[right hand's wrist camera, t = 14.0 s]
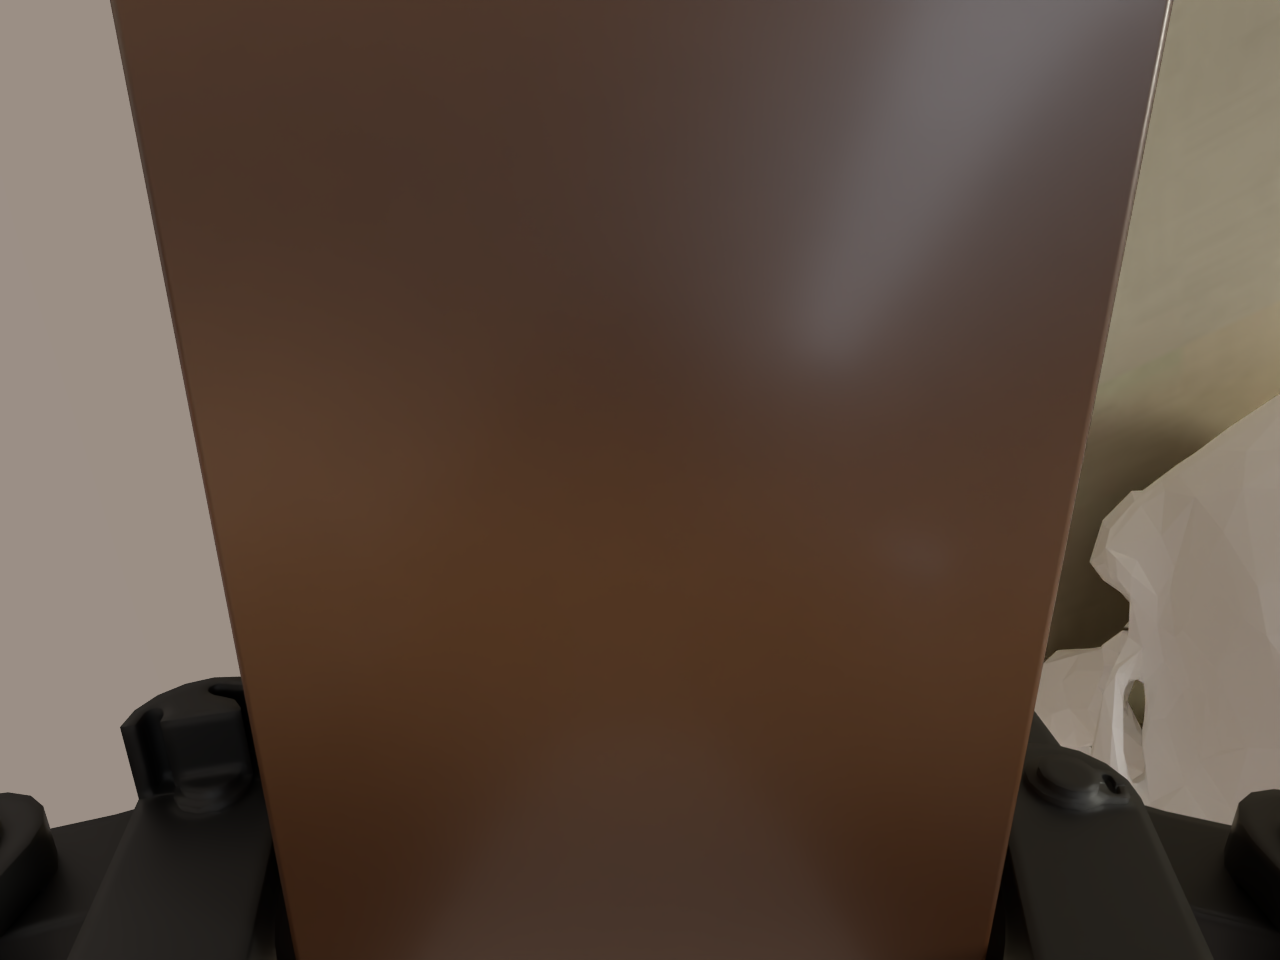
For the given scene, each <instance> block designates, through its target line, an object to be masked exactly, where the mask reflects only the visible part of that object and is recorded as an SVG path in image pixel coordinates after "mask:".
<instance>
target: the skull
mask: <svg viewBox="0 0 1280 960" xmlns="http://www.w3.org/2000/svg"><path fill="white" fill-rule="evenodd" d="M1090 563H1091V565H1092V566H1093V567H1094V569H1095V570H1096V571H1097V573H1098V574H1099V575H1100V577H1101V578H1102V579H1103V581H1105V582H1106V583H1108V584H1109V585H1111V586H1112V587H1114V588H1115V589H1117V590H1118V591H1120V592H1121V593H1122V595H1123V596H1124V597H1125V598H1126V599H1127V600H1128V601H1129V602H1130V610H1129V622H1128V623H1127V624H1126V625H1125V626H1124V627H1126V628H1129V630H1124V631H1121V632H1119V633H1118V634H1117V635H1115V636H1114V637H1112V638H1111V639H1110V640H1108V641H1107V642H1106V643H1104V644H1103V645H1102V647H1096V648H1088V649H1065V650H1057V651H1056V652H1055V653H1054V654H1053V655H1052V656H1050V657H1049V658H1048V659H1047V660H1046V661H1045V662H1044V663H1043V668H1042V673H1041V678H1040V683H1039V689H1038V694H1037V699H1036V704H1035V709H1034V711H1035V712H1036V714H1037V715H1038V716H1039V718H1040V719H1041V720H1042V722H1043V723H1044V724H1045V726H1046V727H1047V728H1048V730H1049V731H1050V732H1051V734H1052V735H1053V736H1054V738H1055V739H1056V740H1057V742H1058V743H1059V744H1060V746H1062V747H1066V748H1070V749H1074V750H1078V751H1081V752H1083V753H1085V754H1087V755H1089V756H1091V757H1094V758H1096V759H1098V760H1100V761H1102V762H1104V763H1106V764H1108V765H1109V766H1110V767H1112V768H1113V769H1114V770H1115V771H1117V772H1118V773H1119V774H1121V775H1122V776H1123V777H1125V778H1126V779H1127V780H1128V781H1129V782H1130V784H1131V785H1132V786H1133V788H1134V789H1135V790H1136V792H1137V793H1138V794H1139V796H1140V797H1141V799H1142V801H1143V803H1144V805H1146V806H1149V807H1153V808H1156V809H1160V810H1163V811H1167V812H1172V813H1176V814H1181V815H1186V816H1190V817H1195V818H1200V819H1204V820H1209V821H1213V822H1218V823H1223V824H1227V825H1232V823H1233V820H1234V816H1235V813H1236V810H1237V807H1238V804H1239V802H1240V801H1241V800H1243V799H1244V798H1245V797H1246V796H1247V795H1249V794H1250V793H1251V792H1256V791H1263V790H1270V789H1278V790H1280V393H1279V394H1278V395H1276V396H1275V397H1273V398H1272V399H1270V400H1269V401H1267V402H1266V403H1264V404H1263V405H1261V406H1260V407H1258V408H1257V409H1255V410H1254V411H1252V412H1251V413H1249V414H1248V415H1246V416H1245V417H1243V418H1242V419H1240V420H1239V421H1237V422H1236V423H1234V424H1233V425H1231V426H1230V427H1229V428H1227V429H1226V430H1225V431H1223V432H1222V433H1221V434H1219V435H1218V436H1217V437H1215V438H1214V439H1213V440H1211V441H1210V442H1209V443H1207V444H1206V445H1205V446H1203V447H1202V448H1201V449H1199V450H1198V451H1197V452H1195V453H1194V454H1192V455H1191V456H1189V457H1188V458H1186V459H1185V460H1183V461H1182V462H1180V463H1178V464H1177V465H1176V466H1174V467H1173V468H1172V469H1170V470H1169V471H1168V472H1166V473H1165V474H1164V475H1162V476H1161V477H1160V478H1158V479H1157V480H1156V481H1154V482H1153V483H1152V484H1150V485H1149V486H1148V487H1146V488H1145V489H1144V490H1143V491H1131V492H1130V493H1129V494H1128V495H1127V496H1126V497H1125V498H1124V499H1123V500H1122V501H1121V502H1120V503H1119V504H1118V505H1117V506H1116V507H1115V508H1114V509H1113V510H1112V511H1111V512H1110V513H1109V514H1108V515H1107V516H1106V517H1105V518H1104V519H1103V520H1102V524H1101V527H1100V530H1099V533H1098V536H1097V539H1096V543H1095V546H1094V549H1093V552H1092V555H1091V559H1090ZM1135 680H1138V681H1140V682H1142V683H1144V692H1145V713H1144V722H1143V727H1142V729H1141V727H1140V725H1139V723H1138V721H1137V719H1136V717H1135V715H1134V713H1133V711H1132V709H1131V707H1130V704H1129V702H1128V698H1129V695H1130V692H1131V690H1132V687H1133V684H1134V681H1135Z"/></svg>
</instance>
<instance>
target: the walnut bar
mask: <svg viewBox="0 0 1280 960" xmlns="http://www.w3.org/2000/svg"><path fill="white" fill-rule="evenodd" d="M110 3H111V7H112V13H113V18H114V23H115V28H116V33H117V39H118V44H119V49H120V54H121V59H122V65H123V70H124V74H125V80H126V85H127V90H128V95H129V101H130V106H131V111H132V116H133V121H134V126H135V132H136V137H137V142H138V147H139V152H140V158H141V162H142V168H143V173H144V178H145V183H146V189H147V194H148V199H149V204H150V209H151V214H152V220H153V225H154V230H155V235H156V240H157V245H158V250H159V256H160V261H161V266H162V271H163V276H164V282H165V286H166V292H167V297H168V302H169V307H170V312H171V318H172V323H173V327H174V333H175V338H176V343H177V349H178V354H179V359H180V364H181V369H182V374H183V380H184V385H185V390H186V395H187V400H188V405H189V410H190V416H191V421H192V426H193V431H194V436H195V442H196V447H197V452H198V457H199V462H200V467H201V473H202V478H203V483H204V488H205V493H206V498H207V504H208V509H209V514H210V519H211V524H212V529H213V534H214V540H215V545H216V550H217V555H218V560H219V566H220V571H221V576H222V581H223V586H224V591H225V597H226V602H227V607H228V612H229V617H230V622H231V628H232V633H233V638H234V643H235V648H236V653H237V659H238V664H239V669H240V674H241V679H242V684H243V690H244V695H245V700H246V705H247V710H248V715H249V721H250V726H251V731H252V736H253V741H254V746H255V752H256V757H257V762H258V767H259V772H260V777H261V783H262V788H263V793H264V798H265V803H266V808H267V814H268V819H269V824H270V829H271V834H272V839H273V845H274V850H275V855H276V860H277V865H278V870H279V876H280V881H281V886H282V891H283V896H284V901H285V907H286V912H287V917H288V922H289V927H290V932H291V938H292V943H293V948H294V953H295V958H296V960H985V959H986V954H987V949H988V944H989V939H990V934H991V928H992V923H993V918H994V913H995V908H996V903H997V898H998V893H999V888H1000V882H1001V877H1002V872H1003V867H1004V862H1005V857H1006V852H1007V847H1008V842H1009V837H1010V831H1011V826H1012V821H1013V816H1014V811H1015V806H1016V801H1017V796H1018V791H1019V786H1020V780H1021V775H1022V770H1023V765H1024V760H1025V755H1026V750H1027V745H1028V740H1029V735H1030V729H1031V724H1032V719H1033V714H1034V709H1035V704H1036V699H1037V694H1038V689H1039V683H1040V678H1041V673H1042V668H1043V663H1044V658H1045V653H1046V648H1047V643H1048V638H1049V632H1050V627H1051V622H1052V617H1053V612H1054V607H1055V602H1056V597H1057V592H1058V587H1059V581H1060V576H1061V571H1062V566H1063V561H1064V556H1065V551H1066V546H1067V541H1068V536H1069V530H1070V525H1071V520H1072V515H1073V510H1074V505H1075V500H1076V495H1077V490H1078V485H1079V479H1080V474H1081V469H1082V464H1083V459H1084V454H1085V449H1086V444H1087V439H1088V433H1089V428H1090V423H1091V418H1092V413H1093V408H1094V403H1095V398H1096V393H1097V388H1098V382H1099V377H1100V372H1101V367H1102V362H1103V357H1104V352H1105V347H1106V342H1107V337H1108V331H1109V326H1110V321H1111V316H1112V311H1113V306H1114V301H1115V296H1116V291H1117V286H1118V280H1119V275H1120V270H1121V265H1122V260H1123V255H1124V250H1125V245H1126V240H1127V234H1128V229H1129V224H1130V219H1131V214H1132V209H1133V204H1134V199H1135V194H1136V189H1137V183H1138V178H1139V173H1140V168H1141V163H1142V158H1143V153H1144V148H1145V143H1146V138H1147V132H1148V127H1149V122H1150V117H1151V112H1152V107H1153V102H1154V97H1155V92H1156V87H1157V81H1158V76H1159V71H1160V66H1161V61H1162V56H1163V51H1164V46H1165V41H1166V35H1167V30H1168V25H1169V20H1170V15H1171V10H1172V5H1173V0H110Z"/></svg>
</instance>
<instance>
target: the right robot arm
mask: <svg viewBox="0 0 1280 960" xmlns="http://www.w3.org/2000/svg"><path fill="white" fill-rule="evenodd" d="M120 728H121V732H122V736H123V740H124V744H125V748H126V751H127V755H128V759H129V763H130V767H131V771H132V774H133V778H134V782H135V786H136V789H137V793H138V797H139V800H138V802H137V805H136V807H135V809H134V810H130V811H127V812H123V813H119V814H116V815H111V816H107V817H102V818H98V819H93V820H88V821H84V822H79V823H75V824H70V825H65V826H61V827H56V828H52V829H50V827H49V824H48V820H47V817H46V814H45V811H44V807H43V806H42V805H41V804H40V803H39V802H37V801H36V800H35V799H34V798H33V797H31V796H28V795H22V794H15V793H0V960H296V958H295V953H294V948H293V943H292V938H291V932H290V927H289V922H288V917H287V912H286V907H285V901H284V896H283V891H282V886H281V881H280V876H279V870H278V865H277V860H276V855H275V850H274V845H273V839H272V834H271V829H270V824H269V819H268V814H267V808H266V803H265V798H264V793H263V788H262V783H261V777H260V772H259V767H258V762H257V757H256V752H255V746H254V741H253V736H252V731H251V726H250V721H249V715H248V710H247V705H246V700H245V695H244V690H243V684H242V679H241V677H217V678H210V679H205V680H201V681H197V682H192V683H188V684H184V685H182V686H179V687H177V688H174V689H172V690H170V691H167V692H165V693H162V694H160V695H158V696H156V697H154V698H153V699H151V700H150V701H148V702H147V703H145V704H144V705H142V706H141V707H139V708H138V709H136V710H135V711H134V712H133V713H132V714H131V715H130V716H129V718H128V719H127V720H126V721H125V722H124V723H123V725H122V726H121V727H120ZM985 960H1280V790H1278V789H1270V790H1263V791H1256V792H1251V793H1250V794H1249V795H1247V796H1246V797H1245V798H1244V799H1243V800H1241V801H1240V802H1239V804H1238V807H1237V810H1236V813H1235V816H1234V820H1233V823H1232V825H1227V824H1223V823H1218V822H1213V821H1209V820H1204V819H1200V818H1195V817H1190V816H1186V815H1181V814H1176V813H1172V812H1167V811H1163V810H1160V809H1156V808H1153V807H1149V806H1146V805H1144V803H1143V801H1142V799H1141V797H1140V796H1139V794H1138V793H1137V792H1136V790H1135V789H1134V788H1133V786H1132V785H1131V784H1130V782H1129V781H1128V780H1127V779H1126V778H1125V777H1123V776H1122V775H1121V774H1119V773H1118V772H1117V771H1115V770H1114V769H1113V768H1112V767H1110V766H1109V765H1108V764H1106V763H1104V762H1102V761H1100V760H1098V759H1096V758H1094V757H1091V756H1089V755H1087V754H1085V753H1083V752H1081V751H1078V750H1074V749H1070V748H1066V747H1062V746H1060V744H1059V743H1058V742H1057V740H1056V739H1055V738H1054V736H1053V735H1052V734H1051V732H1050V731H1049V730H1048V728H1047V727H1046V726H1045V724H1044V723H1043V722H1042V720H1041V719H1040V718H1039V716H1038V715H1037V714H1036V712H1035V711H1034V714H1033V719H1032V724H1031V729H1030V735H1029V740H1028V745H1027V750H1026V755H1025V760H1024V765H1023V770H1022V775H1021V780H1020V786H1019V791H1018V796H1017V801H1016V806H1015V811H1014V816H1013V821H1012V826H1011V831H1010V837H1009V842H1008V847H1007V852H1006V857H1005V862H1004V867H1003V872H1002V877H1001V882H1000V888H999V893H998V898H997V903H996V908H995V913H994V918H993V923H992V928H991V934H990V939H989V944H988V949H987V954H986V959H985Z"/></svg>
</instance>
